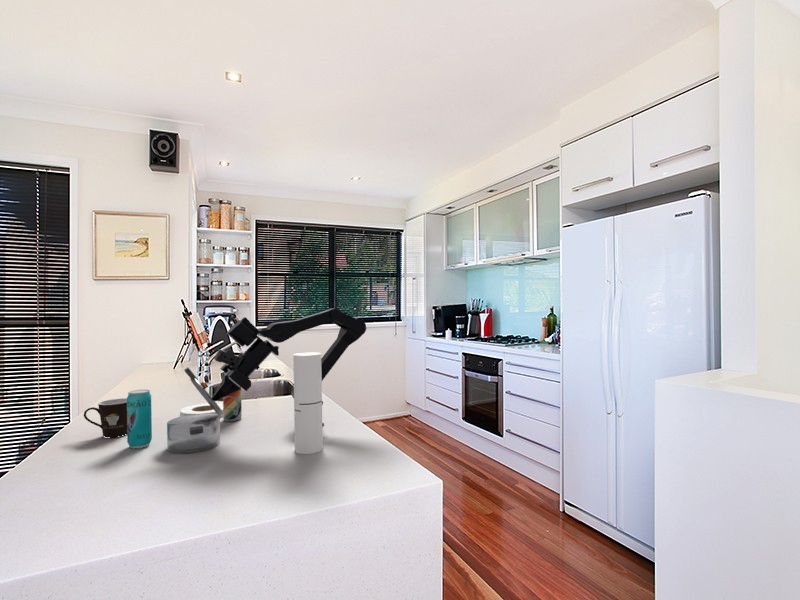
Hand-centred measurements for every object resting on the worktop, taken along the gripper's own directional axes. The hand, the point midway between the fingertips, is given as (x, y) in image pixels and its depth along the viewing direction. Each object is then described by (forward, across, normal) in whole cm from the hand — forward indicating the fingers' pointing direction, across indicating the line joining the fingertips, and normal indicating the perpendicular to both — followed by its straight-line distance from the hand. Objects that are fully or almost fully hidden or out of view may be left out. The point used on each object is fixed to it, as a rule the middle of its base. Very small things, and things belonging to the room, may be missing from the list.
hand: (213, 399), depth 121 cm
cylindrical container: (-6, +20, +23) cm, 31 cm away
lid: (+1, 0, -4) cm, 4 cm away
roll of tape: (+8, -35, +9) cm, 37 cm away
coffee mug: (+27, -24, -10) cm, 37 cm away
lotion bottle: (+3, -23, +14) cm, 27 cm away
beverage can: (+21, -8, -4) cm, 23 cm away
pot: (+12, 0, +5) cm, 13 cm away
